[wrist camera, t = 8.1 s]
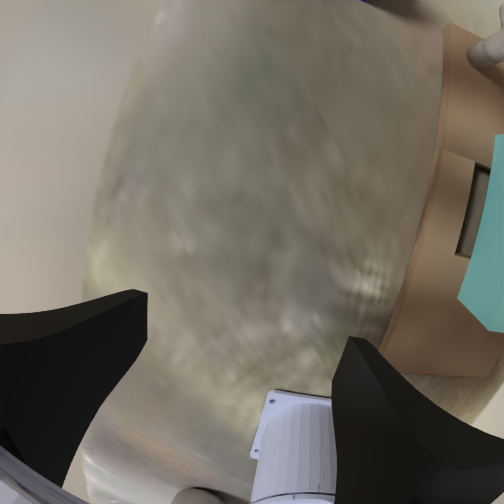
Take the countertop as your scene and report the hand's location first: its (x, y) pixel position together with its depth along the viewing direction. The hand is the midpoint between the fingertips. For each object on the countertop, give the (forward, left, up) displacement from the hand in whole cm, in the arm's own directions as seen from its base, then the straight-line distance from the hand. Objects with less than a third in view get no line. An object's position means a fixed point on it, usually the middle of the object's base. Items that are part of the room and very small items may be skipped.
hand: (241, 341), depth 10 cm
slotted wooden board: (+6, -15, -9) cm, 18 cm away
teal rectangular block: (+6, -15, -8) cm, 18 cm away
